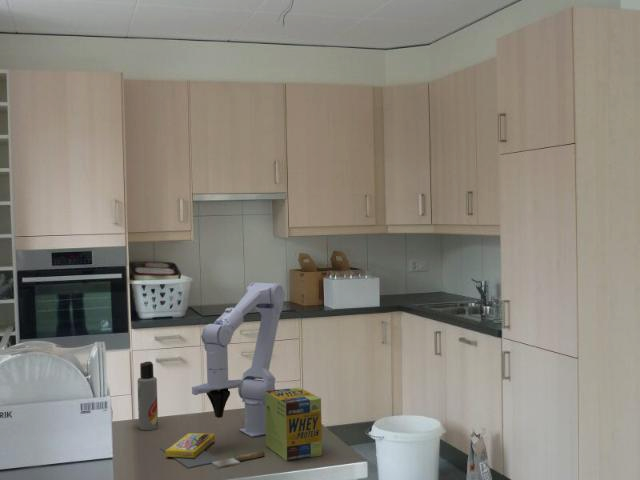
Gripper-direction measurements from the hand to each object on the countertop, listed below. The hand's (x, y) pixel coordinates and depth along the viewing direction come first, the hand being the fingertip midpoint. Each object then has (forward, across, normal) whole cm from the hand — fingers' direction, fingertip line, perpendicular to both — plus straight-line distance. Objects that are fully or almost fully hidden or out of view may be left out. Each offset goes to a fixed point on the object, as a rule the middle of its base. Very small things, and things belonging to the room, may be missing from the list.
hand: (218, 416), depth 217 cm
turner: (+9, 0, +13) cm, 15 cm away
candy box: (+7, +4, -1) cm, 8 cm away
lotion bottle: (+9, +9, -31) cm, 34 cm away
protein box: (+9, -16, +13) cm, 23 cm away
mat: (+9, +9, 0) cm, 13 cm away
